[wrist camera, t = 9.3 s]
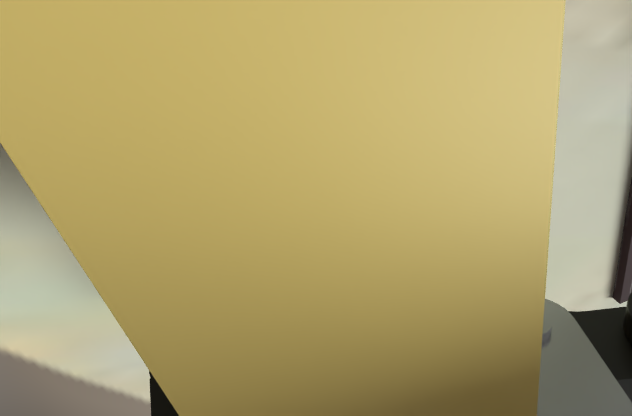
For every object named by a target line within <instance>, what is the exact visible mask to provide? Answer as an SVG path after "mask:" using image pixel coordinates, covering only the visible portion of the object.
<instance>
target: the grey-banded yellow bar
mask: <svg viewBox="0 0 632 416" xmlns="http://www.w3.org/2000/svg"><path fill="white" fill-rule="evenodd" d="M564 14H565V0H0V143H1V145H2V146H3V148H4V149H5V151H6V152H7V154H8V155H9V157H10V158H11V160H12V161H13V163H14V164H15V166H16V167H17V169H18V170H19V172H20V174H21V175H22V177H23V178H24V180H25V181H26V183H27V184H28V186H29V187H30V189H31V190H32V192H33V193H34V195H35V196H36V198H37V199H38V201H39V203H40V204H41V206H42V207H43V209H44V210H45V212H46V213H47V215H48V216H49V218H50V219H51V221H52V222H53V224H54V225H55V227H56V228H57V230H58V232H59V233H60V235H61V236H62V238H63V239H64V241H65V242H66V244H67V245H68V247H69V248H70V250H71V251H72V253H73V254H74V256H75V257H76V259H77V261H78V262H79V264H80V265H81V267H82V268H83V270H84V271H85V273H86V274H87V276H88V277H89V279H90V280H91V282H92V283H93V285H94V287H95V288H96V290H97V291H98V293H99V294H100V296H101V297H102V299H103V300H104V302H105V303H106V305H107V306H108V308H109V309H110V311H111V312H112V314H113V316H114V317H115V319H116V320H117V322H118V323H119V325H120V326H121V328H122V329H123V331H124V332H125V334H126V335H127V337H128V338H129V340H130V341H131V343H132V345H133V346H134V348H135V349H136V351H137V352H138V354H139V355H140V357H141V358H142V360H143V361H144V363H145V364H146V366H147V367H148V369H149V370H150V372H151V374H152V375H153V377H154V378H155V380H156V381H157V383H158V384H159V386H160V387H161V389H162V390H163V392H164V393H165V395H166V396H167V398H168V399H169V401H170V403H171V404H172V406H173V407H174V409H175V410H176V412H177V413H178V415H179V416H537V405H538V391H539V376H540V362H541V347H542V333H543V318H544V304H545V289H546V275H547V260H548V246H549V231H550V217H551V202H552V188H553V173H554V159H555V145H556V130H557V116H558V101H559V87H560V72H561V58H562V43H563V29H564Z"/></svg>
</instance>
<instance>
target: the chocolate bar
mask: <svg viewBox="0 0 632 416" xmlns="http://www.w3.org/2000/svg"><path fill="white" fill-rule="evenodd" d="M631 292H632V179H631V185H630V192H629V198H628V204H627V210H626V217H625V223H624V229H623V236H622V242H621V248H620V255H619V261H618V267H617V274H616V280H615V286H614V293H613V298H614V299H615V300H616V301H617V302H618V303H620V304H621V303H623V302H625V301H628V298H629V295H630V294H631Z"/></svg>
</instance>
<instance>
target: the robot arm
mask: <svg viewBox="0 0 632 416" xmlns="http://www.w3.org/2000/svg"><path fill="white" fill-rule="evenodd" d="M149 374H150V377H151V378H150V397H151V416H179V415H178V413H177V412H176V410H175V409H174V407H173V406H172V404H171V403H170V401H169V399H168V398H167V396H166V395H165V393H164V392H163V390H162V389H161V387H160V386H159V384H158V383H157V381H156V380H155V378H154V377H153V375H152V374H151V372H150V370H149ZM537 416H632V292H631V294H630V295H629V298H628V302H627V307H619V308H610V309H602V310H593V311H582V312H572V311H567V310H566V309H565V308H563V307H562V306H560V305H559V304H557V303H555V302H553V301H550V300H547V299H545V304H544V318H543V333H542V347H541V362H540V376H539V391H538V405H537Z"/></svg>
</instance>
